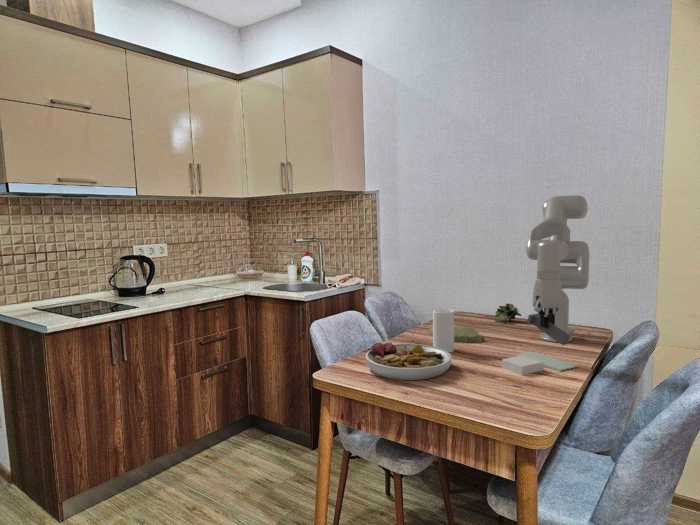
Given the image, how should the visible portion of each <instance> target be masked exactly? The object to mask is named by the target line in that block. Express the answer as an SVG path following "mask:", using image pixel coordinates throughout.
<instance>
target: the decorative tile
mask: <svg viewBox="0 0 700 525" xmlns="http://www.w3.org/2000/svg"><path fill="white" fill-rule="evenodd" d="M429 332H430V333H429V334H430V335H432V336H431V337H432V338H433V326H431V327H429ZM482 342H483V340H482V335H481V334H480V333H479V332H478V330H476V329H475V328H474V327H473V326H454V343H482Z"/></svg>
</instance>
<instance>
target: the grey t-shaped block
mask: <svg viewBox="0 0 700 525" xmlns="http://www.w3.org/2000/svg"><path fill="white" fill-rule="evenodd" d="M526 324H527V325H528V326H529V325H533V326H535V328H537V329H539V330H540V331H542V332H543V333H546V334H547V335H549V336H550V337H551V338H553V339H554V340H556V341H557V342H556V343H559V344H560V345H562V346H565V345H568V343H569V342H570V341H569V338H570V336H571V335H570V334H567V333H566V332H564V331H563V330H561V329H560V328H558V327H557V326H555V325H554V324H552V323H551V322H549V325H548V328H544V327H540V316H539V313H538V312H537V313H533V314H528V318H527V320H526ZM568 341H569V342H568Z"/></svg>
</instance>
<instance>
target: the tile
mask: <svg viewBox="0 0 700 525" xmlns="http://www.w3.org/2000/svg"><path fill="white" fill-rule="evenodd" d="M501 369H504V370H506V369H507V371H509V372H511V371H512V373H514V372H515V374H517V375H519V374H520V376H525V374H526V375H529V374H533V373H539V372H543V371H544V366H543V362H542V361H539V360H536V359H532V358H529V357H526V356H523V355H522V356H517V357H516V356H512V357H508V358H504V359H503V358H502V359H501ZM542 370H543V371H542ZM538 371H539V372H538Z"/></svg>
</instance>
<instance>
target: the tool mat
mask: <svg viewBox="0 0 700 525" xmlns="http://www.w3.org/2000/svg"><path fill="white" fill-rule="evenodd" d="M522 355H523V356H526V357H529V358H532V359H536V360H539V361H542V362H543V367H546V368H548V369H552V370H554V369H555V371H557V370H558V372H563V371H562V370H564V371H567V369H569V370H572V369H571V368H573V369H576V368H575V367H577V368H579V365H577V364H575V363H571V362H568V361H564V360H562V359H558V358H555V357H552V356H549V355H546V354H542V353H541V352H540V353H539V352H536V351H529V352H522V353H518V354H517V353H516V354H515V356H514V357H517V356H522Z"/></svg>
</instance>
